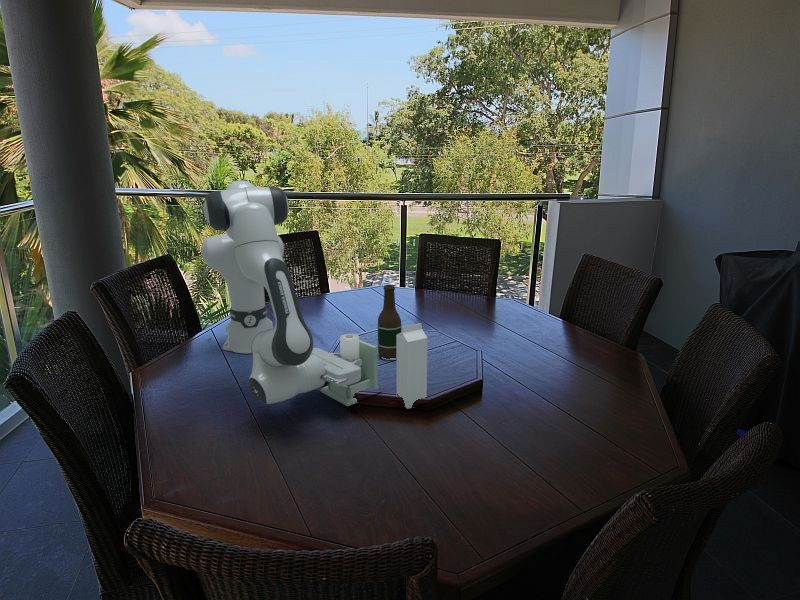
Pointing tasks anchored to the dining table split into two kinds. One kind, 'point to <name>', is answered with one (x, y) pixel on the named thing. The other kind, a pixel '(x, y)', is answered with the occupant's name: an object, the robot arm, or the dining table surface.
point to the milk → (411, 364)
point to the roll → (349, 349)
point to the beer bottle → (388, 325)
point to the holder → (367, 379)
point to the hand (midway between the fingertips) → (352, 358)
